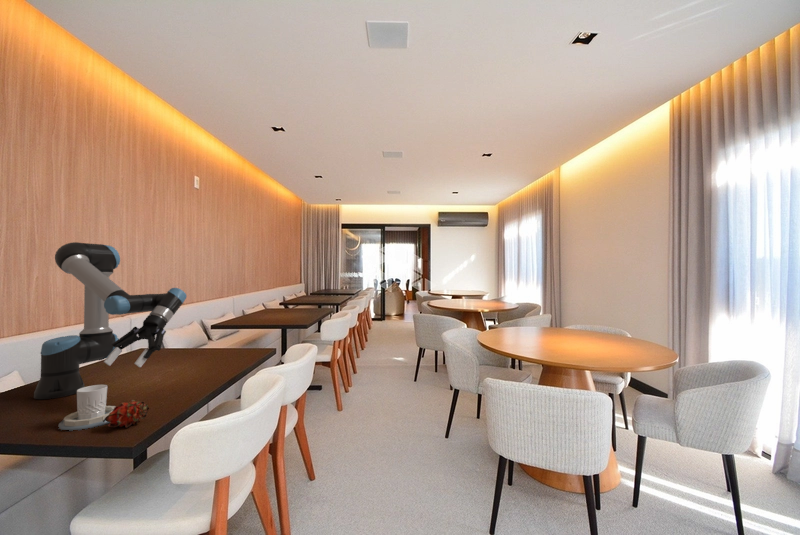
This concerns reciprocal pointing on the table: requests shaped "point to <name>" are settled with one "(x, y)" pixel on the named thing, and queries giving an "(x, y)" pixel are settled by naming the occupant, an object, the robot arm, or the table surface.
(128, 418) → the dragon fruit
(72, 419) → the ring plate
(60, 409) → the table surface
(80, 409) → the white cup
